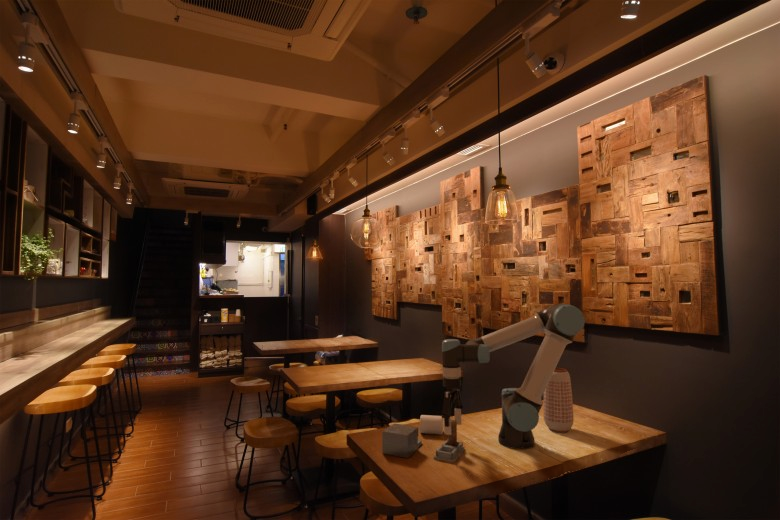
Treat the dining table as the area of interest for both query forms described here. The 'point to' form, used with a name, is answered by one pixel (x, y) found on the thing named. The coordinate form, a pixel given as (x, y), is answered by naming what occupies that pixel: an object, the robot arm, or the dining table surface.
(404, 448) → the block
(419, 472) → the dining table surface
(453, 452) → the socket board
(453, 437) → the peg
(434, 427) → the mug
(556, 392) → the planter
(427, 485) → the dining table surface
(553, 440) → the dining table surface
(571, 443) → the dining table surface
